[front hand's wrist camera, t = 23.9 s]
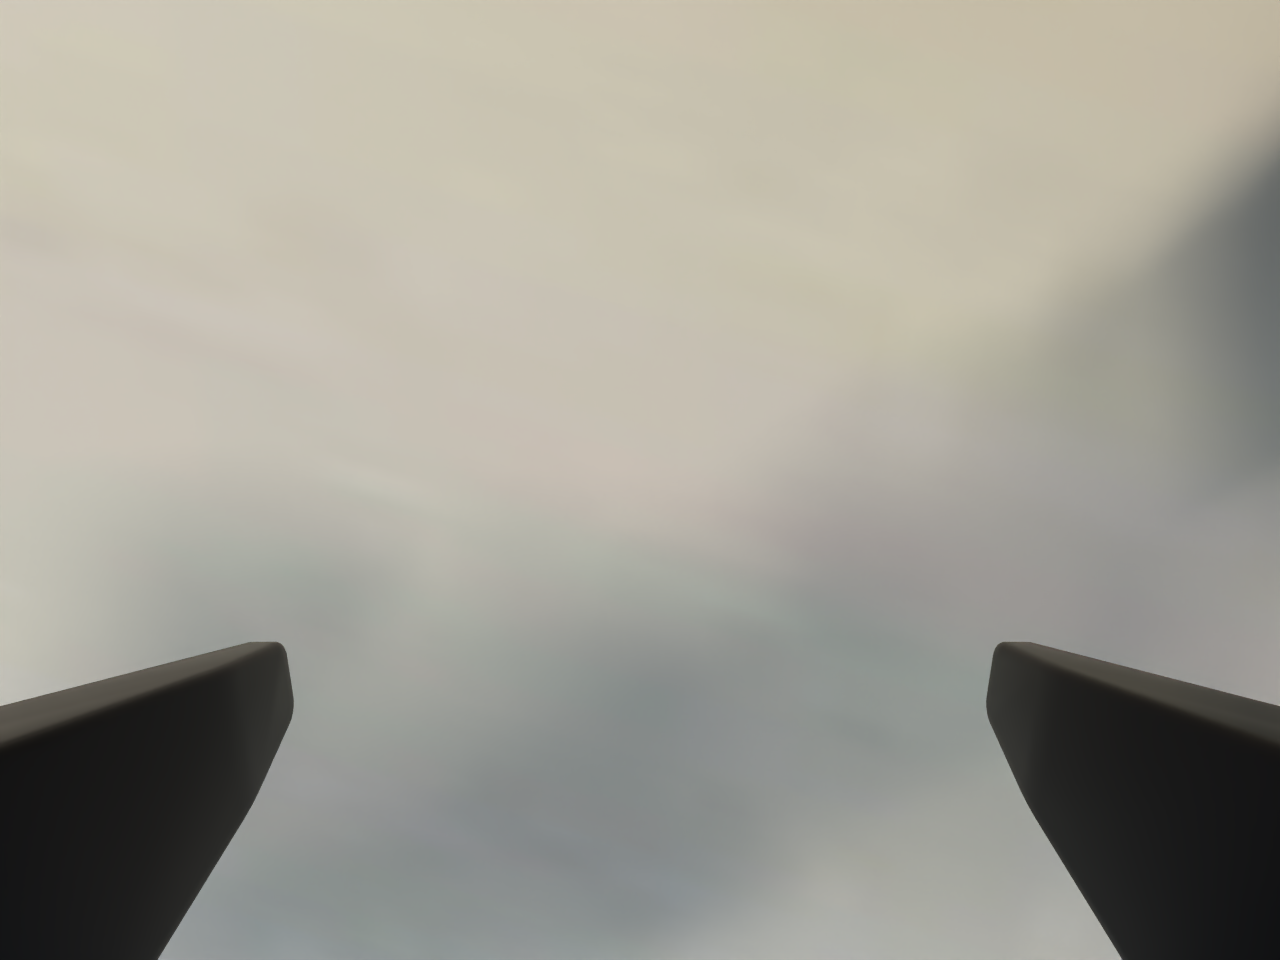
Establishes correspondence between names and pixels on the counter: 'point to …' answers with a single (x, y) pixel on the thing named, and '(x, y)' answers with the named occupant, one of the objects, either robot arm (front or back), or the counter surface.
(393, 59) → the counter surface
